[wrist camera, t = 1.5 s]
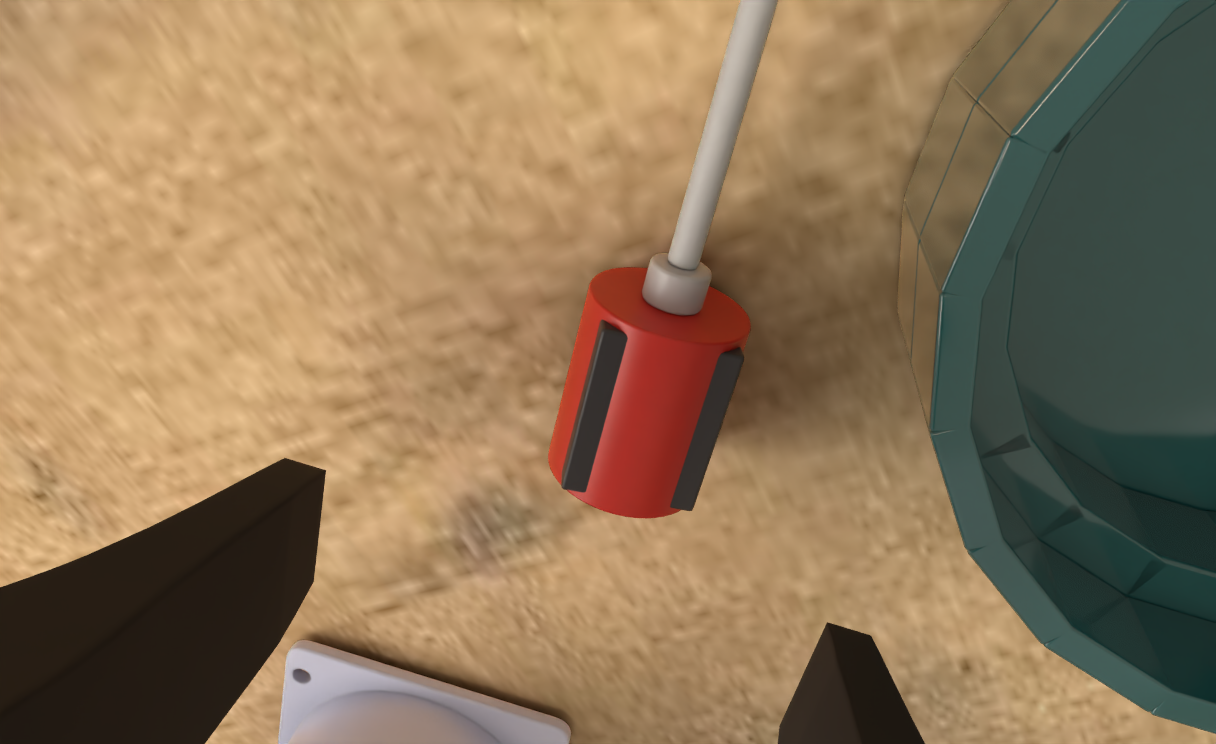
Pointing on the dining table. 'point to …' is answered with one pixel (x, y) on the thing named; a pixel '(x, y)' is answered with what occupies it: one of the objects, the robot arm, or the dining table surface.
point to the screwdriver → (662, 337)
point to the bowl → (1079, 332)
